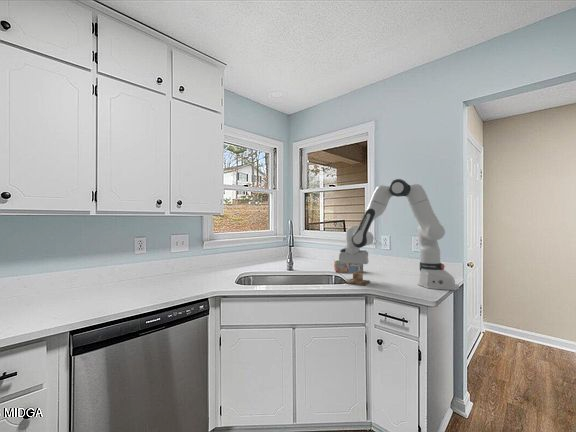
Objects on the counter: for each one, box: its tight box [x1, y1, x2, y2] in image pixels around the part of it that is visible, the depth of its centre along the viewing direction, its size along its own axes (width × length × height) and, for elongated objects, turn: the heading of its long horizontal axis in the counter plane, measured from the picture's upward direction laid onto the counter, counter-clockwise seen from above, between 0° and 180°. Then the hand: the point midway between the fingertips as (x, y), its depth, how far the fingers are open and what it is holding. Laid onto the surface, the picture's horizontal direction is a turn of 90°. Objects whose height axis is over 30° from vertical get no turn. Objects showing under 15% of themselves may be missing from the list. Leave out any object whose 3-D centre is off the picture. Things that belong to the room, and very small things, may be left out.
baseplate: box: [345, 278, 370, 287], centre depth 191 cm, size 12×11×1 cm
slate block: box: [348, 265, 358, 274], centre depth 205 cm, size 5×5×5 cm
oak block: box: [352, 272, 364, 282], centre depth 191 cm, size 5×5×5 cm
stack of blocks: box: [333, 258, 364, 273], centre depth 232 cm, size 21×6×12 cm, turn 89°
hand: (353, 269), depth 205 cm, fingers closed on slate block, 5 cm apart
